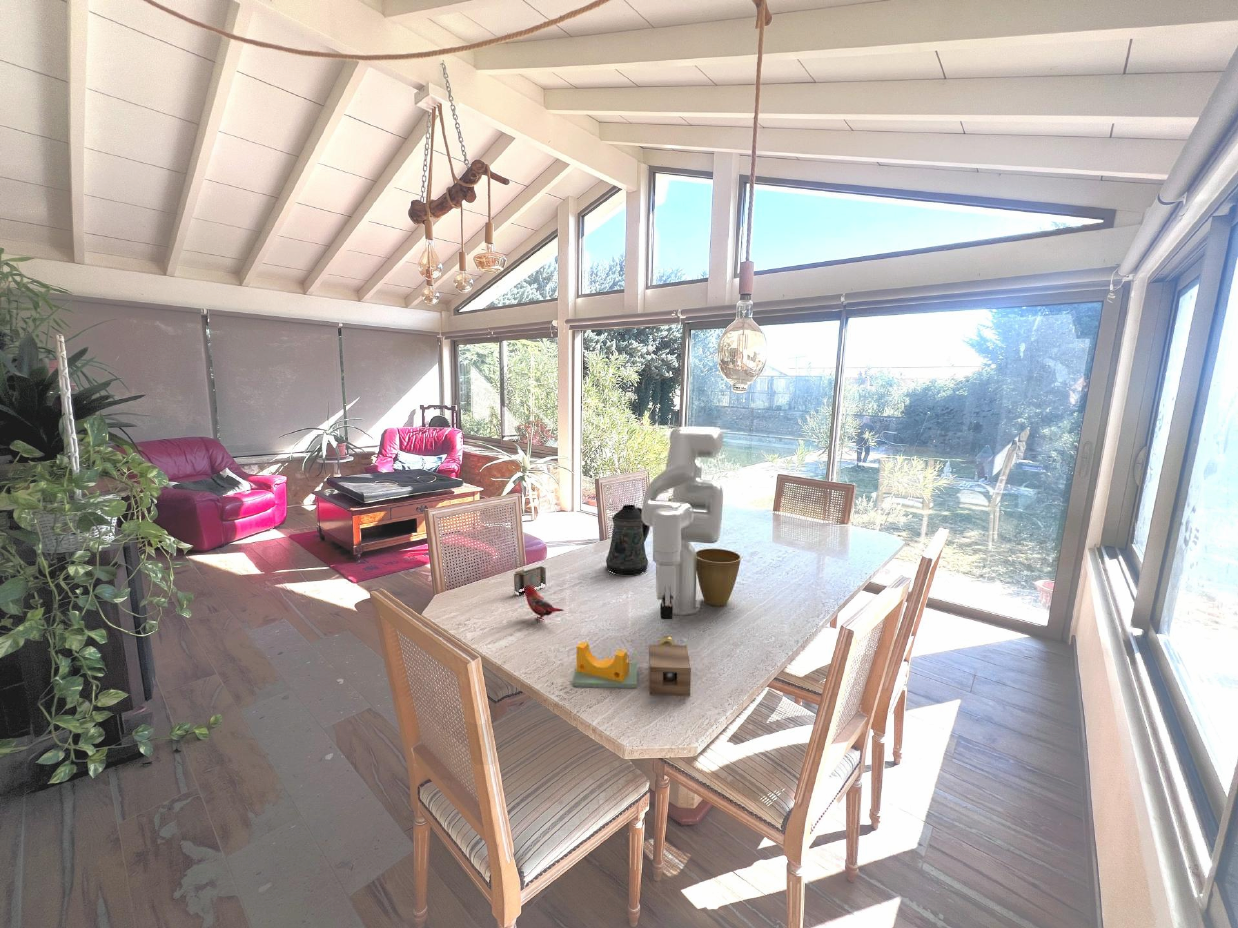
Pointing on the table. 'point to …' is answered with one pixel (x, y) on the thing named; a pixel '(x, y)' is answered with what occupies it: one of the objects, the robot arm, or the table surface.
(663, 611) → the robot arm
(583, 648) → the pipe clamp
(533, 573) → the grey upright flat frame
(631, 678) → the plate
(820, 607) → the table surface
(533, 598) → the decorative bird figurine
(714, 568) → the plant pot
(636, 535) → the beer stein
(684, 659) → the shaft housing
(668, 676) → the shaft
